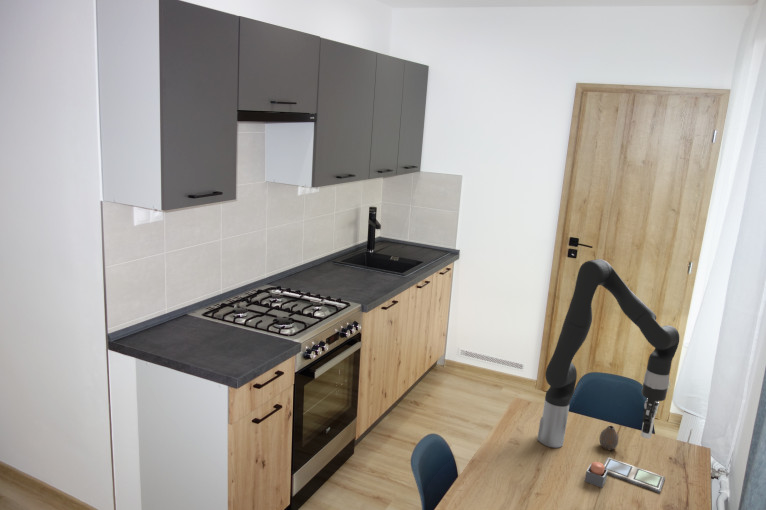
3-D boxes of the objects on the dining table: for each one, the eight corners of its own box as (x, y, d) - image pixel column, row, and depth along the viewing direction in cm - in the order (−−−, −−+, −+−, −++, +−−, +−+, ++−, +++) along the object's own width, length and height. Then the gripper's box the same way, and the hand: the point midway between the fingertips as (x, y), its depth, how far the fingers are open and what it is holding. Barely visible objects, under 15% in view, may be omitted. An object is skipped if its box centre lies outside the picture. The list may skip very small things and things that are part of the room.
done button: (588, 474, 211) (590, 465, 211) (591, 468, 215) (593, 460, 214) (601, 479, 209) (603, 470, 208) (604, 473, 213) (606, 464, 212)
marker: (639, 436, 207) (644, 406, 205) (641, 432, 210) (646, 403, 207) (650, 439, 205) (655, 410, 203) (652, 435, 208) (657, 406, 206)
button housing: (584, 481, 212) (586, 471, 211) (589, 473, 217) (590, 463, 216) (602, 487, 209) (604, 477, 208) (606, 480, 214) (608, 469, 213)
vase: (618, 453, 232) (622, 432, 230) (599, 450, 233) (603, 429, 231) (615, 444, 239) (618, 424, 237) (597, 441, 240) (600, 421, 238)
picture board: (600, 471, 218) (600, 469, 218) (607, 458, 228) (607, 456, 227) (659, 493, 208) (660, 490, 208) (664, 478, 217) (665, 476, 217)
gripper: (648, 374, 211) (639, 419, 215) (639, 387, 200) (630, 434, 203) (671, 380, 207) (662, 426, 211) (663, 394, 196) (654, 442, 199)
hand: (646, 430), depth 207 cm, fingers closed on marker, 3 cm apart
